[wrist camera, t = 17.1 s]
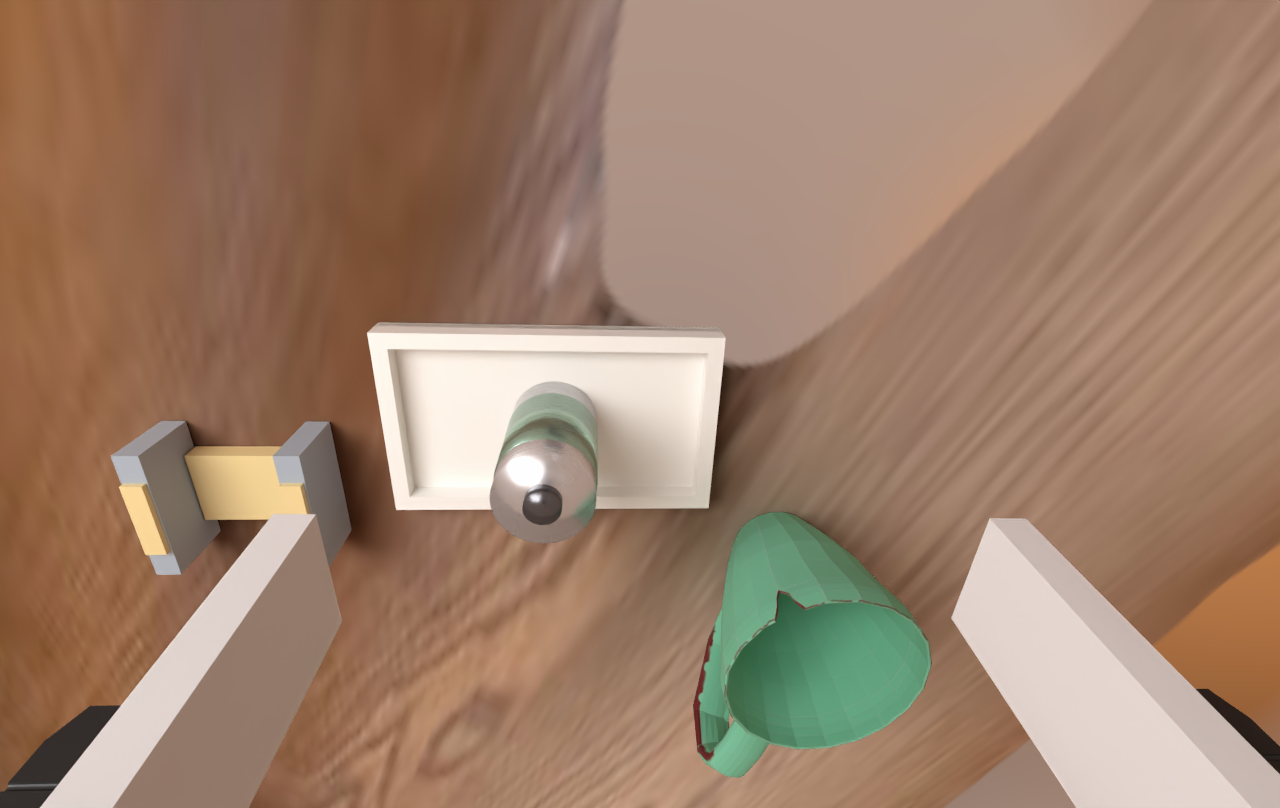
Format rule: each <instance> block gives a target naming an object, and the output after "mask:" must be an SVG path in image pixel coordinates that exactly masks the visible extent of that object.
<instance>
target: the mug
mask: <svg viewBox="0 0 1280 808" xmlns="http://www.w3.org/2000/svg"><path fill="white" fill-rule="evenodd" d="M931 665H932V662H931V654H930V646H929V641H928V639H927V638H926V636H925V635H924V633H923V631H922V630H921V628H920V627H919V625H918V624H917V622H916V621H915V619H914V618H913V616H912V615H911V613H910V612H909V611H908V609H907V608H906V607H905V606H904V604H903V603H902V602H900V601H899V600H898V599H897V598H896V597H895V596H894V595H893V594H892V593H891V592H890V591H888V590H887V589H886V588H885V587H884V586H883V585H882V584H881V583H880V582H878V581H877V580H876V579H875V578H874V577H873V576H872V575H871V574H870V573H869V572H868V570H867V569H866V568H865V567H864V566H863V565H862V564H861V563H860V562H859V561H858V560H857V559H856V558H855V557H854V556H853V555H852V554H851V553H849V552H848V551H847V550H845V549H844V548H843V547H841V546H840V545H839V544H838V543H836V542H835V541H834V540H832V539H831V538H830V537H829V536H827V535H826V534H824V533H823V532H821V531H819V530H818V529H816V528H815V527H813V526H812V525H810V524H808V523H807V522H805V521H803V520H802V519H800V518H799V517H797V516H795V515H793V514H789V513H785V512H770V513H766V514H763V515H760V516H757V517H755V518H753V519H752V520H750V521H748V522H747V523H746V524H745V525H744V526H743V527H742V528H741V529H740V530H739V532H738V534H737V536H736V538H735V540H734V544H733V548H732V551H731V555H730V559H729V562H728V567H727V574H726V581H725V588H724V595H723V605H722V609H721V611H720V613H719V615H718V617H717V620H716V622H715V624H714V626H713V629H712V631H711V633H710V635H709V638H708V643H707V647H706V652H705V656H704V660H703V665H702V669H701V673H700V678H699V682H698V687H697V691H696V695H695V700H694V704H693V708H694V719H695V730H696V741H697V752H698V754H699V755H700V757H701V758H702V760H703V761H704V762H705V763H706V764H707V765H709V766H710V767H712V768H714V769H715V770H717V771H718V772H720V773H722V774H724V775H726V776H729V777H742V776H744V775H745V774H746V773H747V771H748V770H749V769H750V768H751V767H752V766H753V765H754V764H755V763H756V762H757V761H758V759H759V758H760V757H761V755H762V754H763V752H764V751H765V749H766V747H767V746H768V744H772V745H777V746H783V747H788V748H794V749H816V748H830V747H834V746H838V745H842V744H846V743H850V742H854V741H858V740H860V739H862V738H864V737H866V736H868V735H870V734H872V733H874V732H877V731H879V730H881V729H883V728H885V727H886V726H887V725H889V724H890V723H891V722H893V721H894V720H895V719H896V718H898V717H899V716H900V715H902V714H903V713H904V712H905V711H907V710H908V709H909V707H910V706H911V705H912V703H913V702H914V701H915V699H916V698H917V697H918V695H919V694H920V693H921V691H922V690H923V689H924V687H925V684H926V681H927V678H928V675H929V671H930V668H931ZM729 713H730V715H731V717H732V718H733V719H734V721H733V723H732V724H731V726H730V728H729Z"/></svg>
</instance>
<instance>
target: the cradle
mask: <svg viewBox="0 0 1280 808" xmlns="http://www.w3.org/2000/svg"><path fill="white" fill-rule="evenodd" d="M111 459H112V461H113V464H114V466H115V469H116V471H117V474H118V477H119V479H120V482H121V484H122V485H121V486H120V487H119V489H120V491H121V494H122V496H123V499H124V501H125V504H126V506H127V509H128V511H129V514H130V517H131V519H132V522H133V524H134V527H135V529H136V532H137V534H138V537H139V539H140V542H141V545H142V547H143V550H144V552H145V555H149V556H150V559H151V561H152V564H153V566H154V569H155V572H156V574H157V575H164V574H182V573H183V572H184V571H185V570H186V569H187V568H188V566H189V565H190V564H191V563H192V562H193V561H194V560H195V559H196V558H197V557H198V556H199V554H200V553H201V552H202V551H203V550H204V549H205V548H206V547H207V546H208V545H209V544H210V542H211V541H212V540H213V539H214V538H215V537H216V536H217V535H218V534H219V533H220V532H221V530H220V526H219V523H218V520H260V519H270V518H271V516H272V515H273V514H316V517H317V521H318V525H319V529H320V533H321V537H322V541H323V545H324V549H325V554H326V558H327V562H328V566H329V567H330V565H331V564H332V562H333V560H334V559H335V557H336V555H337V554H338V552H339V550H340V549H341V547H342V545H343V544H344V542H345V540H346V539H347V537H348V535H349V534H350V532H351V530H352V529H351V524H350V519H349V514H348V509H347V504H346V499H345V495H344V490H343V485H342V480H341V475H340V470H339V465H338V460H337V456H336V451H335V446H334V441H333V436H332V431H331V426H330V422H305V423H304V424H303V425H302V426H301V427H300V428H299V429H298V430H297V431H296V432H295V433H294V434H293V435H292V437H291V438H290V439H289V440H288V441H287V442H286V443H285V444H284V445H283V446H196V447H195V448H194V445H193V442H192V439H191V436H190V432H189V429H188V426H187V423H186V421H161V422H159V423H158V424H156V425H155V426H153V427H152V428H151V429H149V430H148V431H146V432H145V433H143V434H142V435H140V436H139V437H138V438H136V439H135V440H133V441H132V442H130V443H129V444H127V445H126V446H125V447H123V448H122V449H120V450H119V451H117V452H116V453H114V454H113V455H112V456H111Z"/></svg>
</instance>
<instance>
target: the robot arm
mask: <svg viewBox="0 0 1280 808" xmlns="http://www.w3.org/2000/svg"><path fill="white" fill-rule="evenodd" d="M951 619H952V620H953V622H954V623H955V625H956V626H957V628H958V629H959V631H960V632H961V634H962V635H963V637H964V638H965V640H966V641H967V643H968V644H969V646H970V647H971V649H972V650H973V652H974V653H975V655H976V656H977V658H978V660H979V661H980V663H981V664H982V666H983V667H984V669H985V670H986V672H987V673H988V675H989V676H990V678H991V679H992V681H993V682H994V684H995V685H996V687H997V688H998V690H999V691H1000V693H1001V694H1002V696H1003V697H1004V699H1005V700H1006V702H1007V703H1008V705H1009V706H1010V708H1011V709H1012V711H1013V713H1014V714H1015V716H1016V717H1017V719H1018V720H1019V722H1020V723H1021V725H1022V726H1023V728H1024V729H1025V731H1026V732H1027V734H1028V735H1029V737H1030V738H1031V740H1032V741H1033V743H1034V744H1035V746H1036V747H1037V749H1038V750H1039V752H1040V753H1041V755H1042V756H1043V758H1044V759H1045V761H1046V763H1047V764H1048V766H1049V767H1050V769H1051V770H1052V772H1053V773H1054V775H1055V776H1056V778H1057V779H1058V781H1059V782H1060V784H1061V785H1062V787H1063V788H1064V790H1065V791H1066V793H1067V794H1068V796H1069V797H1070V799H1071V800H1072V802H1073V803H1074V805H1075V806H1076V808H1280V746H1279V745H1277V744H1276V743H1275V742H1274V741H1273V740H1272V739H1271V738H1270V737H1269V736H1268V735H1267V734H1266V733H1265V732H1264V731H1263V730H1262V729H1261V728H1260V727H1259V726H1258V725H1257V724H1256V723H1255V722H1254V721H1253V720H1252V719H1250V718H1249V717H1248V716H1246V715H1245V714H1243V713H1242V712H1240V711H1239V710H1238V709H1236V708H1235V707H1233V706H1232V705H1230V704H1229V703H1227V702H1226V701H1224V700H1223V699H1222V698H1220V697H1219V696H1217V695H1216V694H1214V693H1213V692H1211V691H1210V690H1209V689H1195V688H1194V687H1193V686H1192V685H1191V684H1190V683H1189V682H1188V681H1187V680H1186V679H1184V678H1183V676H1182V675H1181V674H1180V673H1179V672H1178V671H1177V670H1176V669H1175V668H1174V667H1173V666H1172V665H1171V664H1170V663H1169V662H1168V661H1167V660H1166V659H1164V657H1163V656H1162V655H1161V654H1160V653H1159V652H1158V651H1157V650H1156V649H1155V648H1154V647H1153V646H1152V645H1151V644H1150V643H1149V642H1148V641H1147V640H1146V639H1145V638H1144V637H1143V636H1142V635H1141V634H1140V633H1139V632H1138V631H1137V630H1136V629H1135V628H1134V627H1133V626H1132V625H1131V624H1130V623H1129V622H1128V621H1127V620H1126V619H1125V618H1124V617H1123V616H1122V615H1121V614H1120V613H1119V612H1118V611H1117V610H1116V609H1115V608H1114V607H1113V606H1112V605H1111V604H1110V603H1109V602H1108V601H1107V600H1106V599H1105V598H1104V597H1103V596H1102V595H1101V594H1100V593H1099V592H1098V591H1097V590H1096V589H1095V588H1094V587H1093V586H1092V585H1091V584H1090V583H1089V582H1088V581H1087V579H1086V578H1085V577H1084V576H1083V575H1082V574H1081V573H1080V572H1079V571H1078V570H1077V569H1076V568H1075V567H1074V566H1073V565H1072V564H1071V563H1070V562H1069V561H1068V560H1067V559H1066V558H1065V557H1064V556H1063V555H1062V554H1061V553H1060V552H1059V551H1058V550H1057V549H1056V548H1055V547H1054V546H1053V545H1052V544H1051V543H1050V542H1049V541H1048V540H1047V539H1046V538H1045V537H1044V536H1043V535H1042V534H1041V533H1040V532H1039V531H1038V530H1037V529H1036V528H1035V527H1034V526H1033V525H1032V524H1031V523H1030V522H1029V521H1028V520H1027V519H1006V518H990V519H989V522H988V524H987V527H986V529H985V532H984V535H983V537H982V540H981V542H980V545H979V548H978V550H977V553H976V555H975V558H974V561H973V563H972V566H971V568H970V571H969V574H968V576H967V579H966V581H965V584H964V587H963V589H962V592H961V594H960V597H959V599H958V602H957V605H956V607H955V610H954V612H953V615H952V618H951ZM341 623H342V619H341V615H340V611H339V607H338V602H337V598H336V594H335V590H334V586H333V582H332V578H331V574H330V570H329V566H328V562H327V558H326V554H325V549H324V545H323V541H322V537H321V533H320V529H319V525H318V521H317V517H316V514H273V515H272V516H271V518H270V519H269V520H268V521H267V523H266V524H265V525H264V526H263V528H262V529H261V530H260V531H259V533H258V534H257V535H256V536H255V538H254V539H253V540H252V541H251V543H250V544H249V545H248V546H247V548H246V549H245V550H244V552H243V553H242V554H241V555H240V557H239V558H238V559H237V560H236V562H235V563H234V564H233V565H232V567H231V568H230V569H229V570H228V572H227V573H226V574H225V575H224V577H223V578H222V579H221V580H220V582H219V583H218V584H217V585H216V587H215V588H214V589H213V591H212V592H211V593H210V594H209V596H208V597H207V598H206V599H205V601H204V602H203V603H202V604H201V606H200V607H199V608H198V609H197V611H196V612H195V613H194V614H193V616H192V617H191V618H190V619H189V621H188V622H187V623H186V625H185V626H184V627H183V628H182V630H181V631H180V632H179V633H178V635H177V636H176V637H175V638H174V640H173V641H172V642H171V643H170V645H169V646H168V647H167V648H166V650H165V651H164V652H163V653H162V655H161V656H160V657H159V658H158V660H157V661H156V662H155V664H154V665H153V666H152V667H151V669H150V670H149V671H148V672H147V674H146V675H145V676H144V677H143V679H142V680H141V681H140V682H139V684H138V685H137V686H136V687H135V689H134V690H133V691H132V692H131V694H130V695H129V696H128V697H127V699H126V700H125V701H124V703H123V704H122V705H121V706H90V707H88V708H87V709H86V710H84V711H83V712H82V713H81V714H79V715H78V716H77V717H75V718H74V719H73V720H71V721H70V722H69V723H68V724H66V725H65V726H64V727H62V728H61V729H60V730H58V731H57V732H56V733H54V734H53V735H52V736H51V737H49V738H48V739H47V740H45V741H44V742H43V743H42V745H41V746H40V747H39V748H38V749H37V750H36V751H35V753H34V754H33V755H32V756H31V757H30V758H29V760H28V761H27V762H26V763H25V764H24V765H23V766H22V768H21V769H20V770H19V771H18V772H17V773H16V774H15V776H14V777H13V778H12V779H11V780H10V781H9V783H8V788H7V789H6V790H5V791H4V792H0V808H249V806H250V804H251V802H252V800H253V798H254V796H255V794H256V792H257V790H258V788H259V786H260V784H261V782H262V780H263V778H264V776H265V774H266V772H267V770H268V768H269V766H270V764H271V762H272V760H273V758H274V756H275V754H276V752H277V750H278V748H279V746H280V744H281V742H282V740H283V738H284V736H285V734H286V732H287V730H288V728H289V726H290V724H291V722H292V720H293V718H294V716H295V714H296V712H297V710H298V708H299V706H300V704H301V702H302V700H303V698H304V696H305V694H306V692H307V690H308V688H309V686H310V684H311V682H312V680H313V678H314V676H315V674H316V672H317V670H318V668H319V666H320V664H321V662H322V660H323V659H324V657H325V655H326V653H327V651H328V649H329V647H330V645H331V643H332V641H333V639H334V637H335V635H336V633H337V631H338V629H339V627H340V625H341Z"/></svg>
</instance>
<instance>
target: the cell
mask: <svg viewBox="0 0 1280 808" xmlns="http://www.w3.org/2000/svg"><path fill="white" fill-rule="evenodd" d="M597 485H598V430H597V415H596V410H595V407H594V405H593V403H592V401H591V400H590V398H589V397H588V396H587V395H586V394H585V393H584V392H583V391H582V390H580V389H579V388H577V387H575V386H573V385H571V384H568V383H564V382H558V381H549V382H543V383H540V384H537V385H534V386H532V387H531V388H529V389H528V390H526V391H525V392H524V393H523V394H522V395H521V396H520V398H519V399H518V401H517V403H516V405H515V407H514V411H513V414H512V416H511V418H510V421H509V424H508V428H507V431H506V434H505V438H504V441H503V444H502V448H501V451H500V455H499V458H498V461H497V465H496V468H495V472H494V477H493V483H492V486H491V490H490V506H491V509H492V512H493V514H494V516H495V518H496V520H497V521H498V523H499V524H500V525H501V526H502V527H503V528H504V529H505V530H506V531H508V532H509V533H511V534H512V535H514V536H516V537H518V538H520V539H523V540H526V541H530V542H535V543H554V542H559V541H563V540H566V539H568V538H571V537H572V536H574V535H576V534H577V533H579V532H580V531H581V530H582V529H584V528H585V527H586V525H587V524H588V523H589V522H590V520H591V518H592V516H593V514H594V512H595V508H596V492H597Z"/></svg>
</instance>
